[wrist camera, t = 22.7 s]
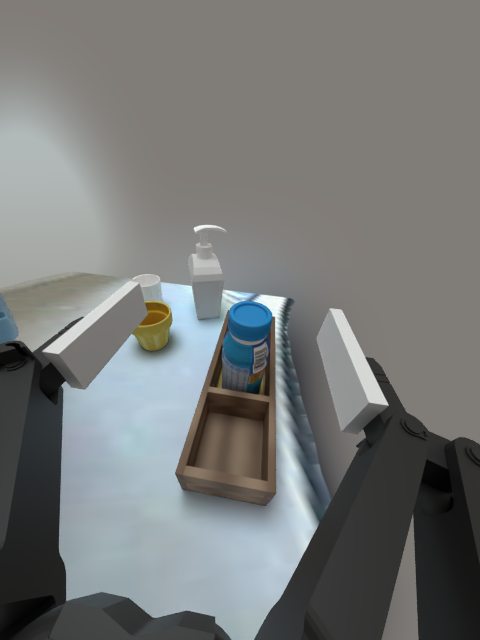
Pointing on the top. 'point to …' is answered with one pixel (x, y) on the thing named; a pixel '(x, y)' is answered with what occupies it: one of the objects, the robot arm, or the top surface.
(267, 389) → the wooden divided storage box
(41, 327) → the top surface
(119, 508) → the top surface
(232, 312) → the beverage bottle
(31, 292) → the top surface
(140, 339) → the plant pot
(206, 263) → the soap bottle
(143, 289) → the white cup
